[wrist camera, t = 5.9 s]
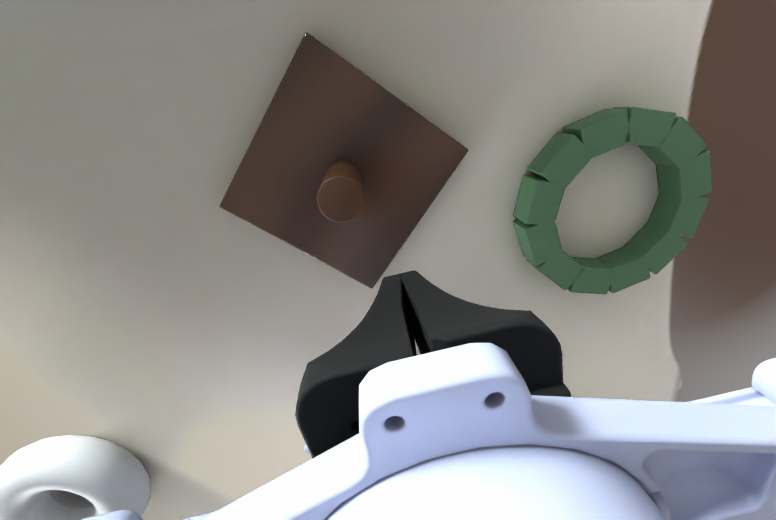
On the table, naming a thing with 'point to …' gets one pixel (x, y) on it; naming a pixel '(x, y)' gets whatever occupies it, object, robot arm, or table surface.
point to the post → (340, 166)
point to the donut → (71, 480)
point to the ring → (668, 219)
